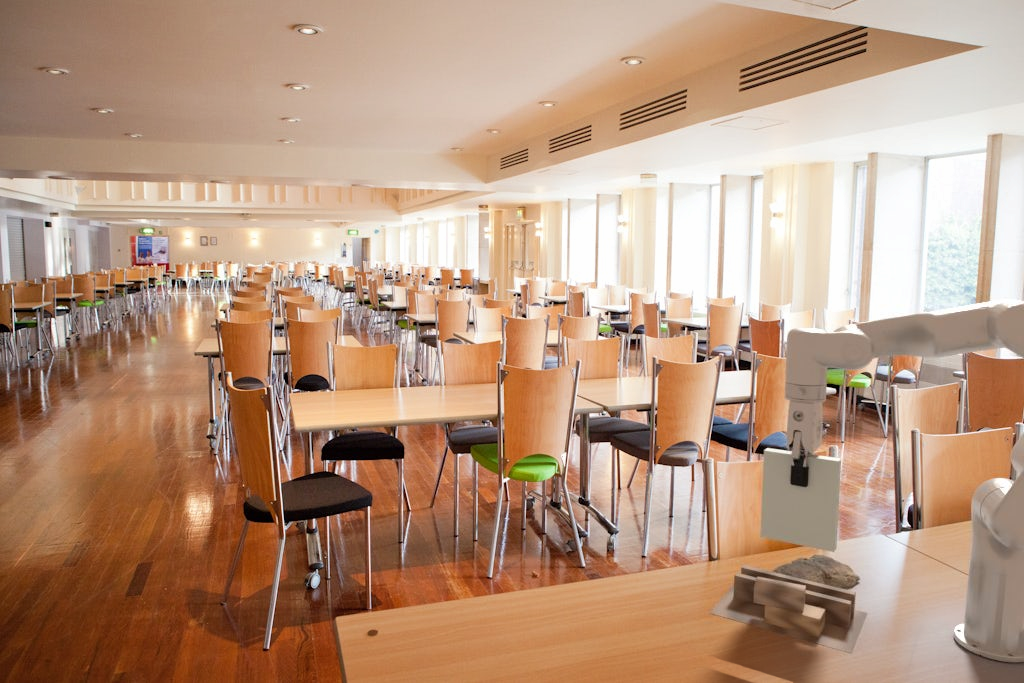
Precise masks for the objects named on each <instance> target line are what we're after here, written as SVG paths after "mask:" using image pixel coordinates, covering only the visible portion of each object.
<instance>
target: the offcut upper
mask: <svg viewBox="0 0 1024 683" xmlns="http://www.w3.org/2000/svg"><path fill="white" fill-rule="evenodd" d="M805 592H806V586H805V585H799V584H794V583H789V582H783V581H778V580H773V579H768V578H762V577H757V579H756V582H755V585H754V601H753V603H758V604H763V605H768V606H772V607H777V608H782V609H787V610H792V611H797V612H802V613H803V610H804V605H805Z"/></svg>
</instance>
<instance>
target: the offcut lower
mask: <svg viewBox="0 0 1024 683" xmlns="http://www.w3.org/2000/svg"><path fill="white" fill-rule="evenodd" d="M825 610H826V609H824V608H820V607H816V606H812V605H808V604H805V605H804V610H803V613H802V612H797V611H792V610H787V609H782V608H777V607H772V606H768V605H765V616H764V622H766V623H769V624H773V625H776V626H780V627H783V628H787V629H791V630H794V631H798V632H801V633H805V634H809V635H812V636H816V637H819V636H820V634H821V632H822V630H823V628H824V625H825Z"/></svg>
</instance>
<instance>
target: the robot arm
mask: <svg viewBox="0 0 1024 683" xmlns="http://www.w3.org/2000/svg"><path fill="white" fill-rule="evenodd" d="M995 349H1007V350H1009V351H1010V352H1012V353H1014V354H1016V355H1018V356H1019V357H1020V358H1022V359H1024V300H1019V299H1014V298H1006V299H998V300H992V301H986V302H981V303H980V302H979V303H974V304H970V305H969V304H968V305H962V306H956V307H953V308H946V309H941V310H940V309H939V310H934V311H927V312H920V313H919V312H918V313H915V314H908V315H904V316H897V317H896V316H895V317H889V318H882V319H881V318H880V319H877V320H871V321H869V320H868V321H864V322H858V323H852V324H847V325H843V326H840V327H838V328H836V329H835V330H833V331H829V332H828V331H826V330H824V329H823V328H822V329H821V328H813V327H797V328H792V329H790V330H789V331H788V333H787V337H786V355H785V358H786V359H785V361H786V362H785V379H784V380H785V381H784V383H785V384H784V399H786V400H788V401H789V403H788V410H787V412H788V413H787V424H786V449H787V451H792V461H791V479H790V484H791V485H795V486H801V487H807V486H808V475H809V467H807V461H808V454H813V455H814V453H815V452H816V451H817V450H818V449H819V448H820V447H821V446H822V445H823V416H824V415H823V403H824V402H826V401H827V388H828V387H827V384H828V368H833V369H834V368H835V369H840V370H844V371H845V370H846V371H859V370H861V369H864V368H866V367H867V366H868V365H869V364H871V363H872V361H873V360H874V359H878V358H886V357H893V356H894V357H896V356H911V357H912V356H913V357H918V358H919V357H920V358H927V359H928V358H932V359H933V358H944V357H950V356H959V355H962V354H968V353H970V354H971V353H973V352H974V353H976V352H985V351H990V350H995ZM801 454H803V455H804V457H803V455H801ZM1009 456H1010V463H1011V465H1012V467H1013V469H1014V470H1015V471H1016V473H1017V474H1019V475H1018V476H1017V477H1016V479H1015V480H1013V479H1010V478H1006V477H994V478H990V479H987V480H985V481H983V482H982V483H981V484H979V486H978V487H977V488H976V489H975V491H974V492H973V496H972V498H971V507H970V508H971V509H970V510H971V512H970V514H971V540H970V541H971V543H970V544H971V545H970V554H969V555H970V556H969V565H968V575H967V576H968V578H967V586H966V598H965V607H964V620H963V623H960V624H958V625H956V626H955V627H954V628H953V634H952V635H953V638H954V639H955V641H956V642H957V643H958V644H959V645H960V646H961V647H963V648H964V649H966V650H967V651H969V652H971V653H972V654H975V655H978V656H980V655H981V657H983V658H986V659H990V660H994V661H998V662H1004V663H1024V432H1023V433H1022V434H1021V435H1020V436H1019V438H1018V439H1017V441H1016V442H1015V444H1014V445H1013V447H1012V449H1011V452H1010V455H1009Z"/></svg>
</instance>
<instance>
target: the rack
mask: <svg viewBox="0 0 1024 683" xmlns="http://www.w3.org/2000/svg"><path fill="white" fill-rule="evenodd" d="M757 577H762V578H768V579H773V580H778V581H783V582H789V583H794V584H799V585H805V586H806V592H805V604H808V605H812V606H816V607H820V608H824V609H826V610H825V625H824V628H823V630H822V632H821V634H820V636H819V637H816V636H812V635H809V634H805V633H801V632H798V631H794V630H791V629H787V628H783V627H780V626H776V625H773V624H769V623H766V622H764V616H765V605H763V604H758V603H753V601H754V585H755V582H756V579H757ZM733 578H734V580H733V584H732V586H730V588H729V589H728V590H727V591H726V592H725V594H724V595H723V596H722V597H721V599H720V600H719V601H718V602H717V603H716V604H715V606H714V607H713V608H712V609H711V610H710V611H709V614H711V615H714V616H718V617H720V618H721V617H722V618H724V619H727V620H732V621H736V622H738V623H739V622H740V623H742V624H747V625H749V626H753V627H755V628H756V627H757V628H760V629H763V630H767V631H771V632H775V633H778V634H782V635H785V636H789V637H792V638H796V639H799V640H802V641H806V642H810V643H814V644H817V645H820V646H823V647H826V648H830V649H834V650H837V651H841V652H844V653H848V654H852V652H853V651H854V650H853V649H854V648H855V645H856V644H857V640H858V638H859V635H860V632H861V631H862V630H861V629H862V628H863V625H864V622H865V620H866V619H867V615H868V612H865V611H861V610H857V609H855V608H856V591H853V590H848V589H846V588H837V587H833V586H829V585H825V584H821V583H817V582H812V581H808V580H804V579H800V578H796V577H792V576H787V575H783V574H779V573H775V572H772V571H769V570H766V569H762V568H759V567H758V568H757V567H754V566H750V565H745V564H743V565H742V566H741V569H740V573H739V572H736V573H735V574H734V577H733Z"/></svg>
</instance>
